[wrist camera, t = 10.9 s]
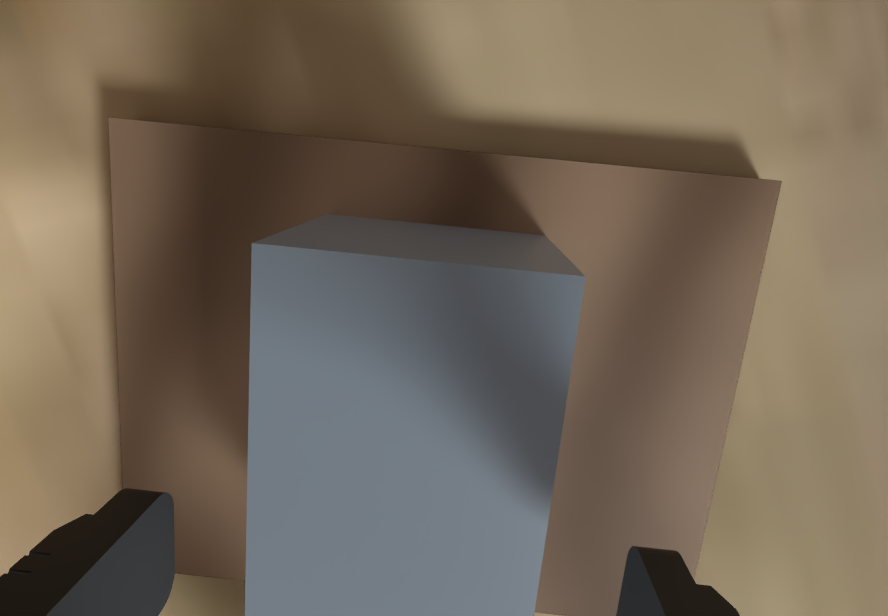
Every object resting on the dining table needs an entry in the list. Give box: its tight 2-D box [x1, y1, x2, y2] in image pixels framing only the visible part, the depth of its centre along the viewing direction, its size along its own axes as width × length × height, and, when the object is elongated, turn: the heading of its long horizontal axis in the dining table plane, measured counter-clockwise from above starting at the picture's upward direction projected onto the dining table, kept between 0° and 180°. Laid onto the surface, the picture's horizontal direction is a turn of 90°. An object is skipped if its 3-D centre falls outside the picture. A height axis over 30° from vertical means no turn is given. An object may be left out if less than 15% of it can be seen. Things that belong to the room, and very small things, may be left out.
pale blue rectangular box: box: [245, 214, 586, 616], centre depth 15 cm, size 6×10×6 cm, turn 175°
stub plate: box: [108, 117, 782, 616], centre depth 17 cm, size 18×14×4 cm
